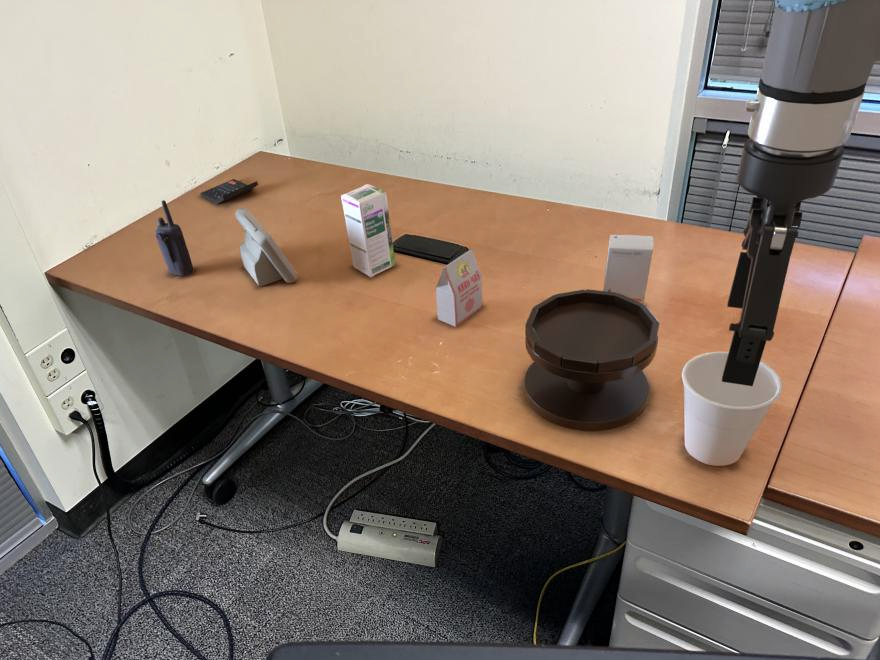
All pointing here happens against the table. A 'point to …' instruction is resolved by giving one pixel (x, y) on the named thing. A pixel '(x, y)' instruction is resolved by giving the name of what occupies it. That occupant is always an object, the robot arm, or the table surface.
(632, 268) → the cosmetic box
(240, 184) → the calculator
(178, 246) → the two-way radio
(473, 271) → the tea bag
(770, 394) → the cup
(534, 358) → the cup stand
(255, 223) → the digital clock
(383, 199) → the syrup box
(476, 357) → the table surface
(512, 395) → the table surface
